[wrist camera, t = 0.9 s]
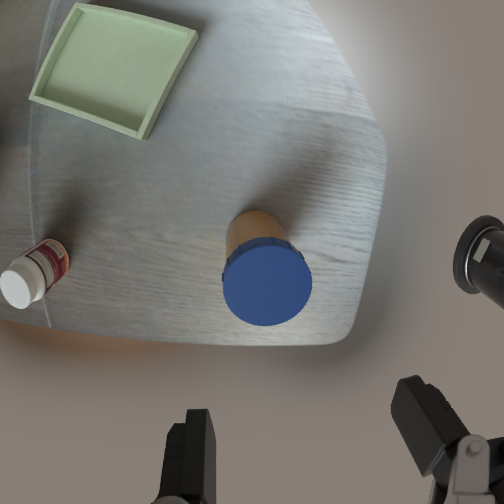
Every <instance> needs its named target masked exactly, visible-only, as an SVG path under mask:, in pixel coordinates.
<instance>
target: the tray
mask: <svg viewBox="0 0 504 504" xmlns="http://www.w3.org/2000/svg"><path fill="white" fill-rule="evenodd" d="M198 39H199V37H198V34H197V31H195V30H192V29H190V28H187V27H183V26H180V25H177V24H174V23H170V22H167V21H163V20H160V19H156V18H153V17H149V16H145V15H141V14H137V13H132V12H128V11H123V10H119V9H114V8H109V7H103V6H98V5H91V4H85V3H78V2H76V3H75V4H74V6H73V8H72V9H71V11H70V13H69V14H68V16H67V18H66V20H65V21H64V23H63V25H62V27H61V29H60V30H59V32H58V34H57V36H56V38H55V40H54V42H53V44H52V46H51V48H50V50H49V52H48V54H47V56H46V58H45V60H44V63H43V65H42V67H41V69H40V72H39V74H38V76H37V79H36V81H35V84H34V86H33V89H32V91H31V94H30V96H29V100H33V101H35V102H38V103H41V104H44V105H47V106H50V107H53V108H56V109H59V110H62V111H65V112H68V113H71V114H73V115H76V116H79V117H82V118H85V119H87V120H90V121H93V122H95V123H98V124H101V125H104V126H106V127H109V128H111V129H114V130H117V131H119V132H122V133H124V134H127V135H130V136H132V137H135V138H137V139H140V140H147V139H148V137H149V135H150V132H151V130H152V128H153V126H154V123H155V121H156V119H157V117H158V115H159V113H160V110H161V108H162V106H163V104H164V102H165V100H166V98H167V96H168V94H169V92H170V90H171V88H172V86H173V84H174V82H175V80H176V78H177V76H178V74H179V73H180V71H181V69H182V67H183V65H184V63H185V61H186V60H187V58H188V56H189V54H190V52H191V51H192V49H193V47H194V45H195V44H196V42H197V40H198Z"/></svg>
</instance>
